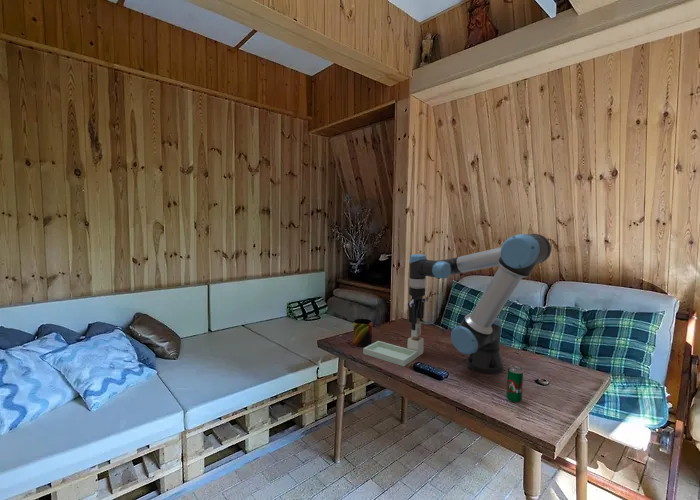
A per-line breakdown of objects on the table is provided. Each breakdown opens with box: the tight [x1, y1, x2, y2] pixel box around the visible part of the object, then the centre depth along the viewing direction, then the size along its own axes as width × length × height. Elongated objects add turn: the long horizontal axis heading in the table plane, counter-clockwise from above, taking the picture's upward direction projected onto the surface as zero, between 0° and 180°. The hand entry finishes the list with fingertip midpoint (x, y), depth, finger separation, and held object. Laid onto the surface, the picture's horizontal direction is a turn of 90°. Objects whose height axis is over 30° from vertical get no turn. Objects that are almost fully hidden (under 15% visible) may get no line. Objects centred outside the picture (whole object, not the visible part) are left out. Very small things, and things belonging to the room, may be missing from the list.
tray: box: [362, 340, 419, 367], centre depth 161 cm, size 22×13×4 cm, turn 52°
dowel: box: [413, 318, 420, 341], centre depth 163 cm, size 3×3×17 cm
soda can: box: [505, 365, 524, 403], centre depth 124 cm, size 5×5×12 cm
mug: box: [352, 318, 373, 348], centre depth 179 cm, size 10×14×12 cm
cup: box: [406, 336, 425, 357], centre depth 164 cm, size 6×6×8 cm
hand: (415, 335), depth 163 cm, fingers closed on dowel, 3 cm apart
